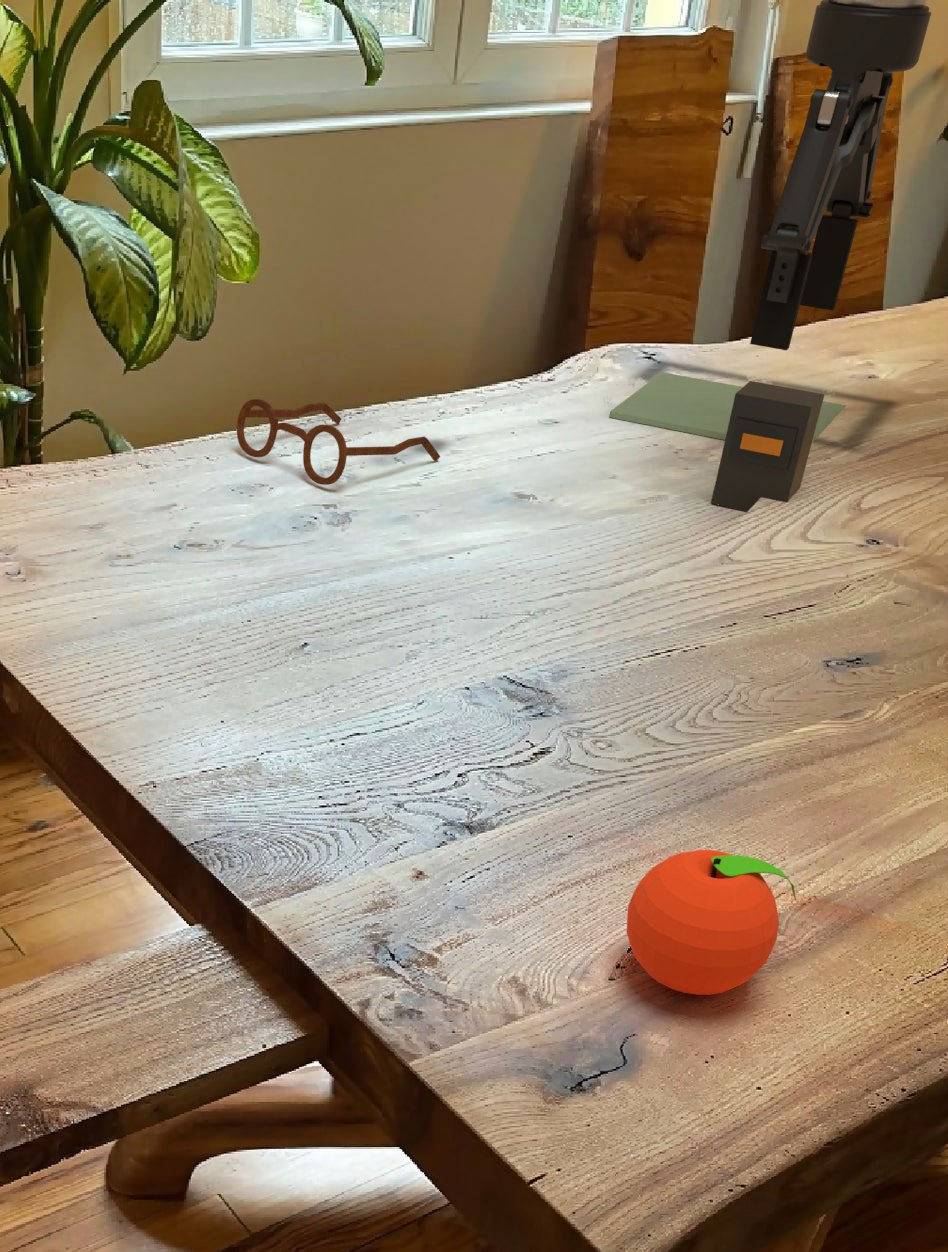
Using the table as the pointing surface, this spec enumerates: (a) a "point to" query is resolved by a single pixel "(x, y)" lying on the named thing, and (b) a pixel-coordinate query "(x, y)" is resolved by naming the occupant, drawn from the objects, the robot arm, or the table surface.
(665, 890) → the clementine
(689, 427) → the mat
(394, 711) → the table surface
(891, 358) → the table surface
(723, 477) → the clock
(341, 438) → the glasses
